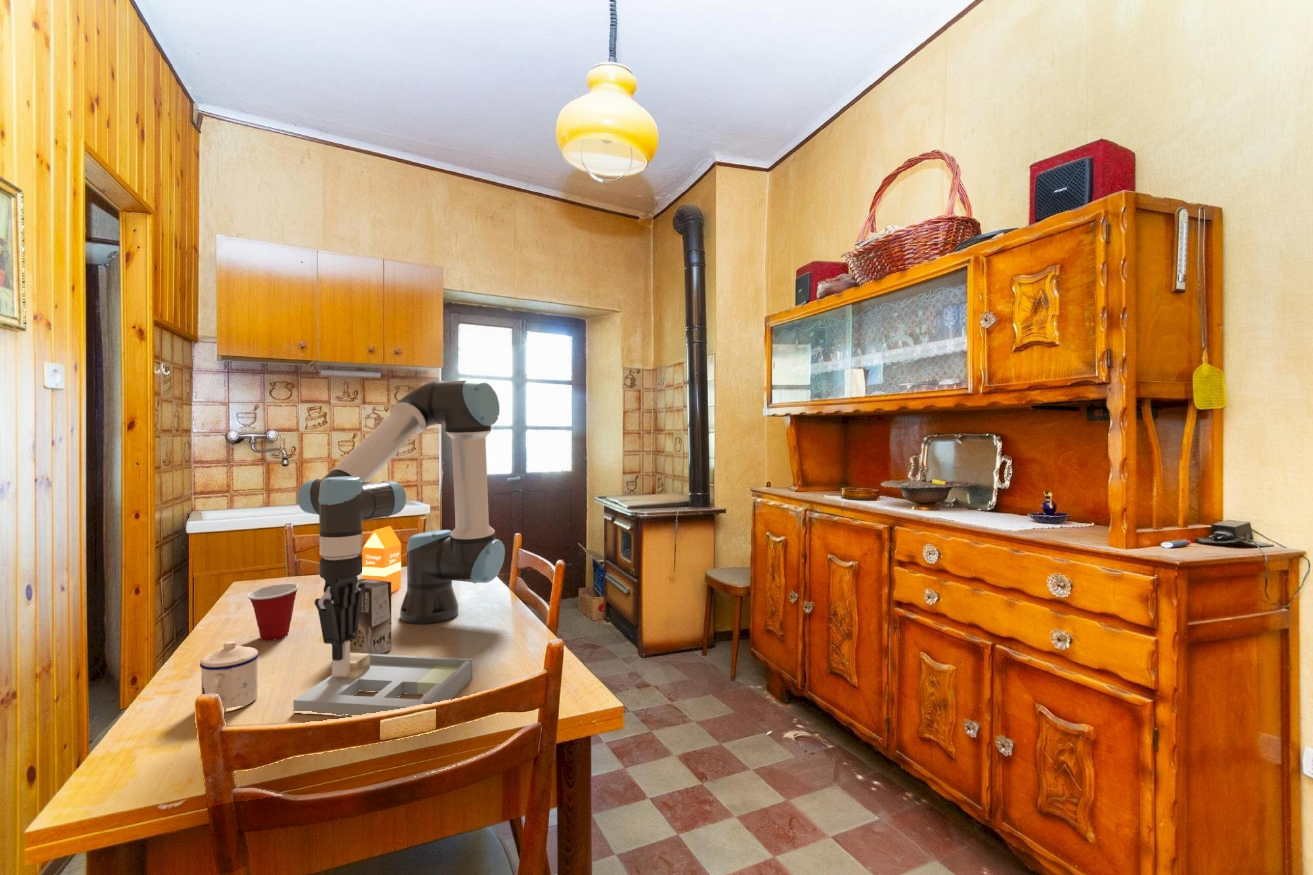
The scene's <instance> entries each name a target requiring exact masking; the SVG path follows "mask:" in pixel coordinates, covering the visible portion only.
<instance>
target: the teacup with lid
mask: <svg viewBox="0 0 1313 875" xmlns="http://www.w3.org/2000/svg"><path fill="white" fill-rule="evenodd" d="M259 655H260V653H259V651H258V650H257V649H256V648H254V647H251V646H243V645H240V644H239V645H238V644H237V642H236V641H235V640H229V641H225V642H224V643H223V647H221V648H219V649H218V650H216V651H214V652H211V653H209V654H207V655H205V656H204V657H203V658H202V659H201V660H200V663H199V666H200V668H201V695H202V694H208V693H215V694H219V696H220V698H221V701H222V706H223V708H224V713H226V714H227V712H226V709H227V708H230V707H231V708H232V707H237V706H245V705H247V704H250V703H251V702H253V701H254V700H255V701H256V700H257V699H256V698H258V696H259V695H258V683H259V682H258V658H259ZM255 701H254V702H255ZM254 702H253V703H254ZM250 705H251V704H250ZM224 713H223V714H224Z"/></svg>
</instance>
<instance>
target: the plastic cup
mask: <svg viewBox="0 0 1313 875" xmlns="http://www.w3.org/2000/svg"><path fill="white" fill-rule="evenodd" d="M298 589H299V584H296V583H289V582H288V583H278V584H271V585H267V586H263V587H260V588H259V587H258V588H257V589H254V590H252V591H250V592H248V594H246V596H247V599H249V600H250V602H251V605H252V608H253V611H254V615H255V620H256V625H257V628H258V631H259V632H258V633H259V637H260V639H263V640H262V641H266V640H270V641H275V640H274V639H277V640H280V638H281V639H283V638H282V637H284V638H286V637H288V636H289V633H290V629H291V628H290V627H291V622H292V616H293V612H294V605H295V600H296V596H297V592H298ZM285 636H286V637H285Z"/></svg>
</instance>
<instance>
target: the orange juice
mask: <svg viewBox="0 0 1313 875" xmlns="http://www.w3.org/2000/svg"><path fill="white" fill-rule="evenodd" d="M361 554H362V555H361V556H362V573H361V574H362V578H361V579H371V580H380V581H390V582H392V583H391V593H393V592H395V591H397V590H400V589H401V587H402V582H401V581H402V580H401V579H402V542H401V541H400V539H399V538H398V536H397V534H396V533H395V531H394V529H393V528H392V526H391V525H388V526H385V527H382V528H378V529H377V528H376V529H374V530H373V532H371V535H369V537H368V539H367V540H366V542H365V544H364V545H363V551H362V552H361Z"/></svg>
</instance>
